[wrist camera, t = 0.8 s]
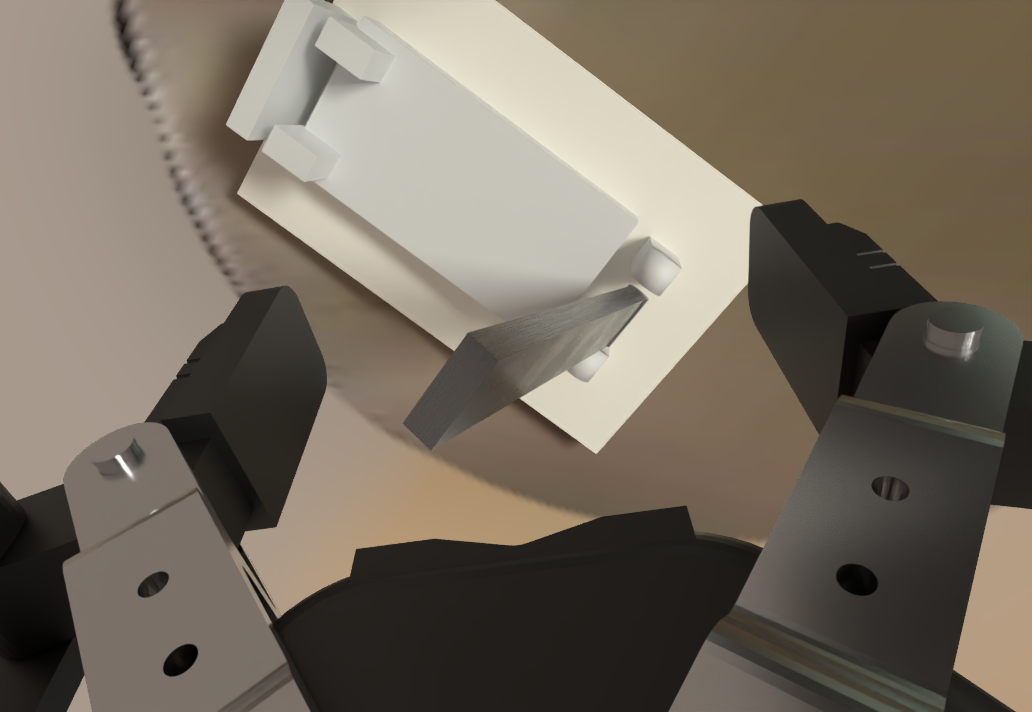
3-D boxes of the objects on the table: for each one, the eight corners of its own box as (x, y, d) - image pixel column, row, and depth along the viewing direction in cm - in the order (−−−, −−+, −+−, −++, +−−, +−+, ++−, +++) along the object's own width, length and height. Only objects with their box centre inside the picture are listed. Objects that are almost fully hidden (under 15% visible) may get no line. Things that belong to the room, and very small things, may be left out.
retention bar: (464, 329, 15) (502, 363, 15) (631, 283, 32) (650, 299, 32) (399, 420, 17) (434, 453, 16) (594, 329, 34) (612, 345, 33)
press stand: (393, -77, 33) (335, -126, 27) (786, 224, 34) (820, 245, 28) (256, 190, 39) (182, 202, 32) (598, 438, 40) (591, 497, 34)
